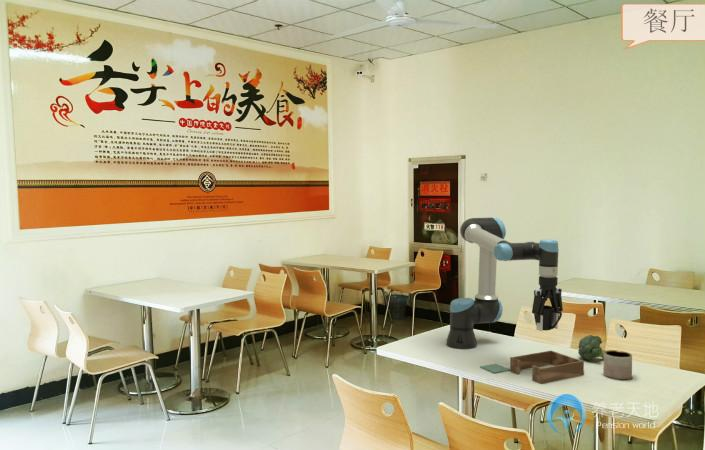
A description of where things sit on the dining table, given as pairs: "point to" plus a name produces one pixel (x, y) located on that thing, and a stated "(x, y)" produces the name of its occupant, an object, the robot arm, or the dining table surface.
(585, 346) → the vegetable
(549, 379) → the wooden tray frame
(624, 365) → the planter
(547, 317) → the mug
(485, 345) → the dining table surface
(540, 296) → the robot arm
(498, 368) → the mat
